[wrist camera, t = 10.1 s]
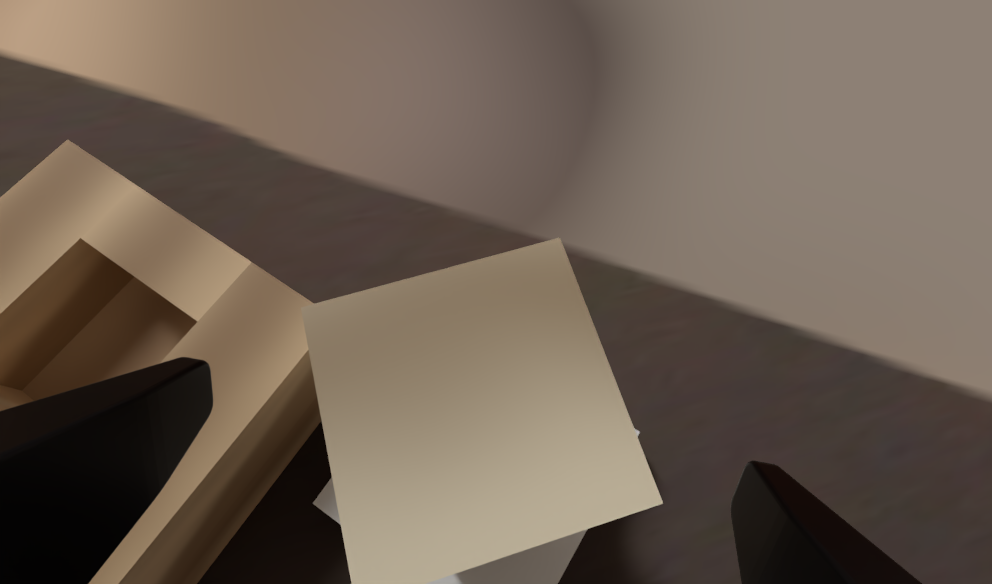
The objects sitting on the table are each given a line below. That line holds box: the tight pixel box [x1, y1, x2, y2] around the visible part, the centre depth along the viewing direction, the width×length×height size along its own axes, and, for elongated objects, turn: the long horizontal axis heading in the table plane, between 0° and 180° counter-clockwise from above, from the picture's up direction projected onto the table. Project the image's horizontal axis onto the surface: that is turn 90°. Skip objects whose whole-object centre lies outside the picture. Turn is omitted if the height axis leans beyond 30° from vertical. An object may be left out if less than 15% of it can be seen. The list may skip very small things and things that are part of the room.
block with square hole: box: [0, 140, 322, 584], centre depth 19 cm, size 12×10×5 cm
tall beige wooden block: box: [301, 238, 663, 584], centre depth 13 cm, size 4×4×12 cm
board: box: [313, 429, 640, 584], centre depth 19 cm, size 8×8×2 cm
